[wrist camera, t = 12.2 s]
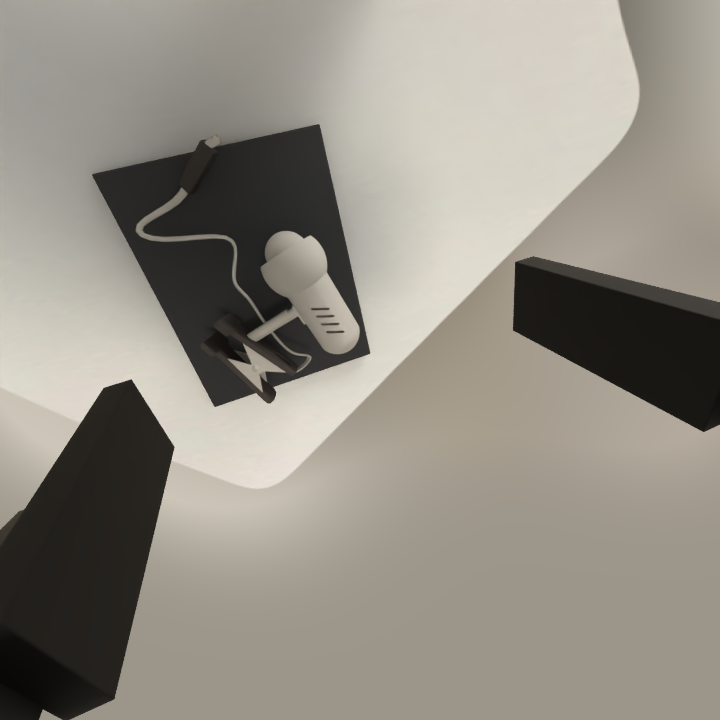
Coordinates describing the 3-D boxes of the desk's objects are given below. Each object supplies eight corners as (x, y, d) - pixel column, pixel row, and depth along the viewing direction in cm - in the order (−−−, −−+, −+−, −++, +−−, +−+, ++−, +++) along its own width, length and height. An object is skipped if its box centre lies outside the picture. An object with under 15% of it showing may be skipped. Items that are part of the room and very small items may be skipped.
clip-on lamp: (127, 217, 27) (265, 394, 33) (72, 209, 21) (252, 427, 27) (252, 132, 26) (371, 329, 32) (232, 99, 20) (383, 348, 26)
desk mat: (94, 174, 24) (91, 174, 23) (317, 125, 26) (319, 124, 26) (214, 404, 34) (214, 407, 33) (368, 351, 36) (370, 353, 36)
